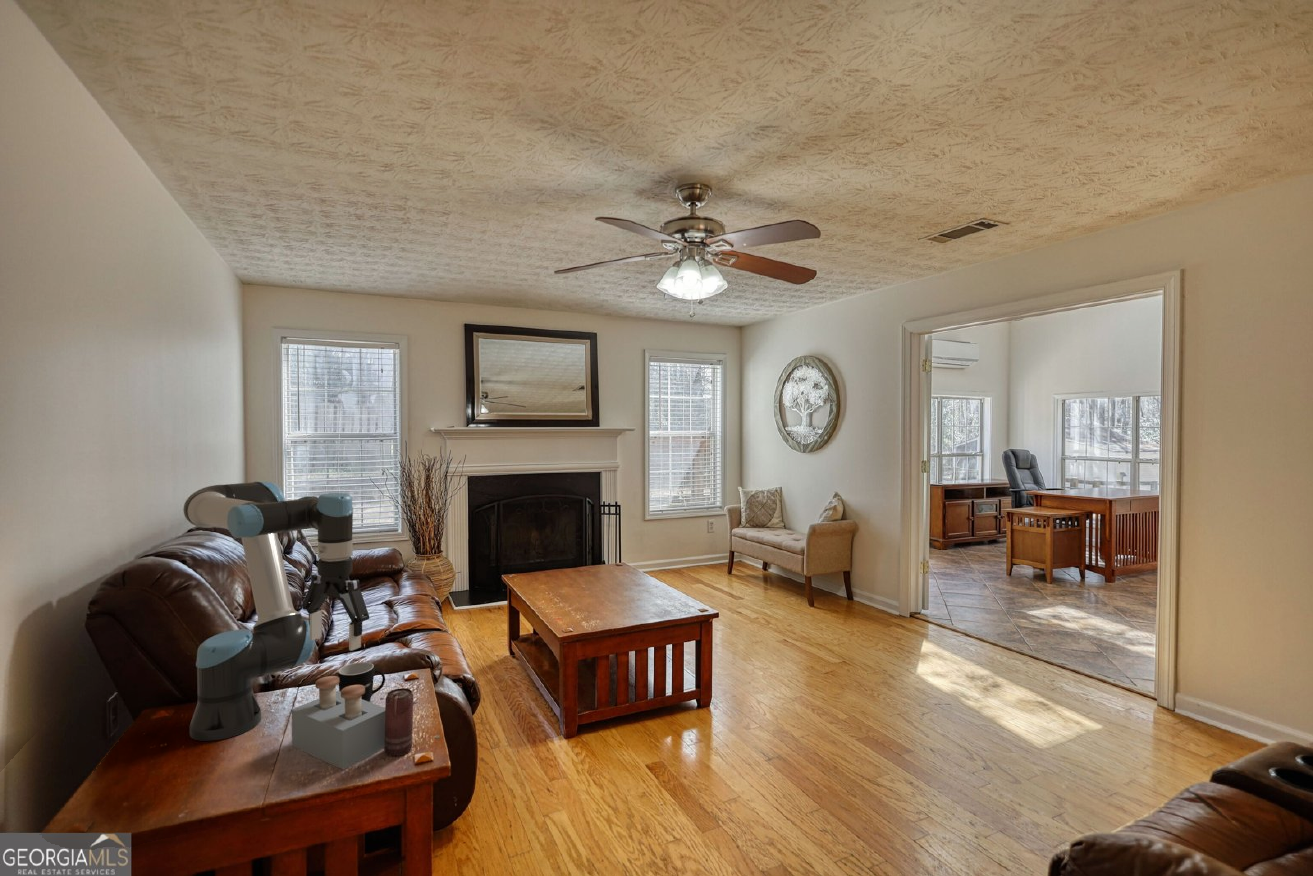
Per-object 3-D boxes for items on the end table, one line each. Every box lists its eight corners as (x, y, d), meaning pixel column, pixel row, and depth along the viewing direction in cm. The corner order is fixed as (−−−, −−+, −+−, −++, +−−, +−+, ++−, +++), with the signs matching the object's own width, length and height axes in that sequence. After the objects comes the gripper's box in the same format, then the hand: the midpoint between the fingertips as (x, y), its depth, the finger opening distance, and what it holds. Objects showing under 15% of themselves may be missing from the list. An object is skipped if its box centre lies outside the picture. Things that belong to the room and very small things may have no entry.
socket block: (292, 746, 151) (291, 709, 151) (338, 725, 161) (338, 690, 161) (343, 769, 141) (342, 730, 141) (389, 745, 151) (388, 709, 151)
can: (382, 759, 145) (383, 700, 145) (386, 745, 151) (387, 688, 151) (410, 756, 147) (411, 697, 146) (413, 742, 153) (414, 686, 152)
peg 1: (311, 721, 153) (310, 682, 152) (331, 712, 157) (331, 674, 157) (324, 727, 150) (323, 686, 150) (344, 717, 154) (343, 678, 154)
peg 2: (336, 732, 148) (335, 691, 147) (356, 722, 152) (356, 683, 152) (350, 737, 145) (349, 696, 145) (370, 728, 149) (369, 687, 149)
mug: (341, 715, 167) (341, 677, 166) (335, 702, 174) (335, 666, 174) (389, 703, 174) (388, 667, 174) (381, 691, 181) (381, 657, 181)
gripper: (285, 554, 153) (286, 639, 154) (359, 567, 143) (358, 658, 144) (313, 548, 160) (313, 629, 161) (385, 560, 150) (385, 647, 151)
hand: (335, 643), depth 152 cm, fingers open, 13 cm apart
